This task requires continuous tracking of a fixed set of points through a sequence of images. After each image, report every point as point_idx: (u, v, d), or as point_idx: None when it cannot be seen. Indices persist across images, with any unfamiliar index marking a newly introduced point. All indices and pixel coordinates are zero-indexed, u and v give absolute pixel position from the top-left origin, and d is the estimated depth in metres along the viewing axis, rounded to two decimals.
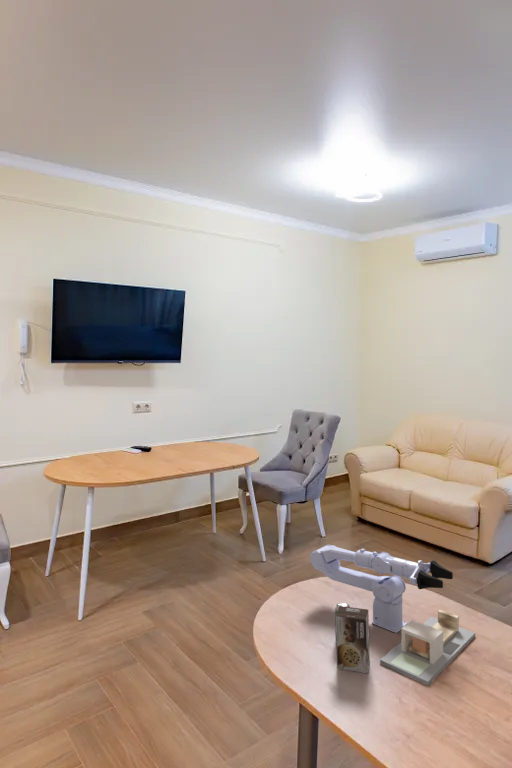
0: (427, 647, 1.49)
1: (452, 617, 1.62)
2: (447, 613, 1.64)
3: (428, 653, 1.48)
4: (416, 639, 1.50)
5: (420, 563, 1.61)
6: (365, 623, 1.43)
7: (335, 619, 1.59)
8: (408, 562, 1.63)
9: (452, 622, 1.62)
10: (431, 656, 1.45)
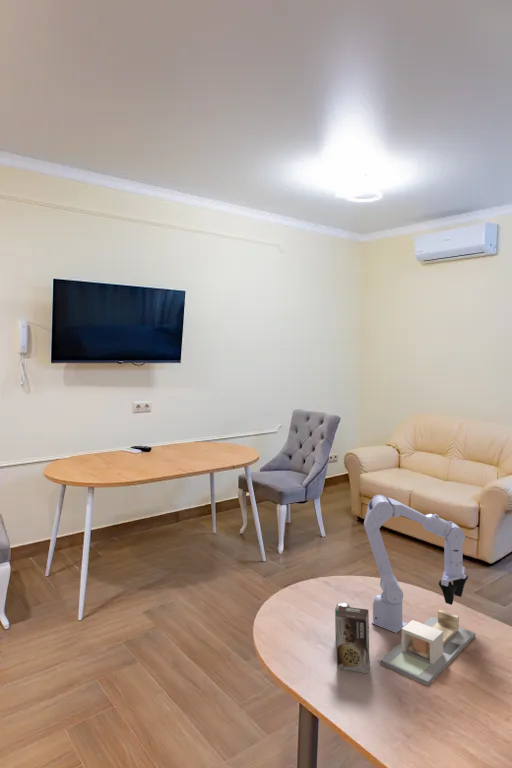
0: (427, 647, 1.49)
1: (452, 617, 1.62)
2: (447, 613, 1.64)
3: (428, 653, 1.48)
4: (416, 639, 1.50)
5: None
6: (365, 623, 1.43)
7: (335, 619, 1.59)
8: (460, 565, 1.64)
9: (452, 622, 1.62)
10: (431, 656, 1.45)
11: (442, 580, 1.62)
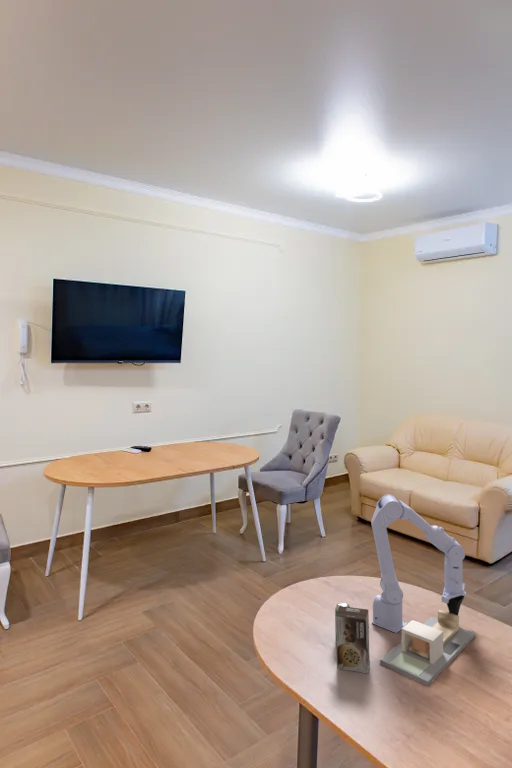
0: (427, 647, 1.49)
1: (452, 617, 1.62)
2: (447, 613, 1.64)
3: (428, 653, 1.48)
4: (416, 639, 1.50)
5: None
6: (365, 623, 1.43)
7: (335, 619, 1.59)
8: (461, 582, 1.64)
9: (452, 622, 1.62)
10: (431, 656, 1.45)
11: (442, 597, 1.62)
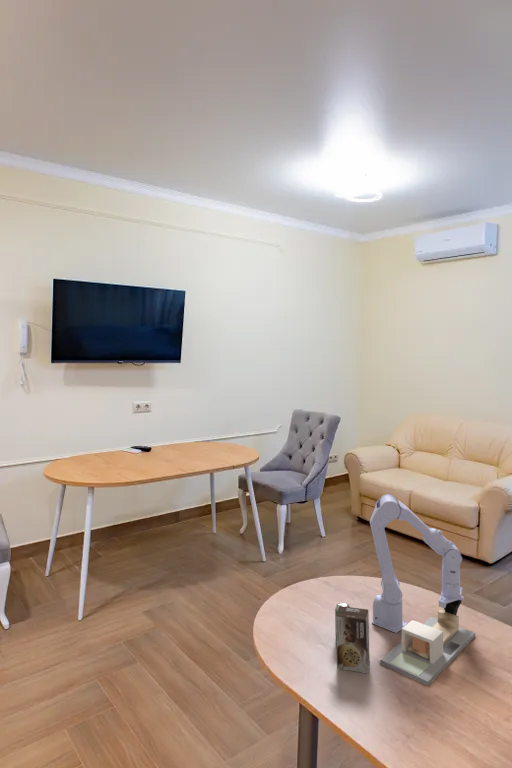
0: (427, 647, 1.49)
1: (452, 617, 1.62)
2: (447, 613, 1.64)
3: (428, 653, 1.48)
4: (416, 639, 1.50)
5: None
6: (365, 623, 1.43)
7: (335, 619, 1.59)
8: (458, 586, 1.63)
9: (452, 622, 1.62)
10: (431, 656, 1.45)
11: (439, 602, 1.61)
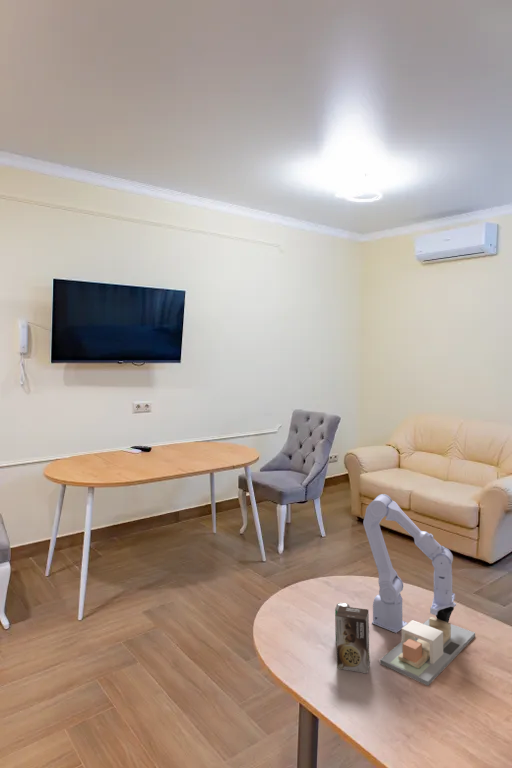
0: (417, 656, 1.44)
1: (444, 625, 1.58)
2: (439, 620, 1.60)
3: (418, 662, 1.43)
4: (406, 648, 1.45)
5: None
6: (365, 623, 1.43)
7: (335, 619, 1.59)
8: (450, 593, 1.59)
9: (444, 630, 1.58)
10: (431, 656, 1.45)
11: (431, 609, 1.56)
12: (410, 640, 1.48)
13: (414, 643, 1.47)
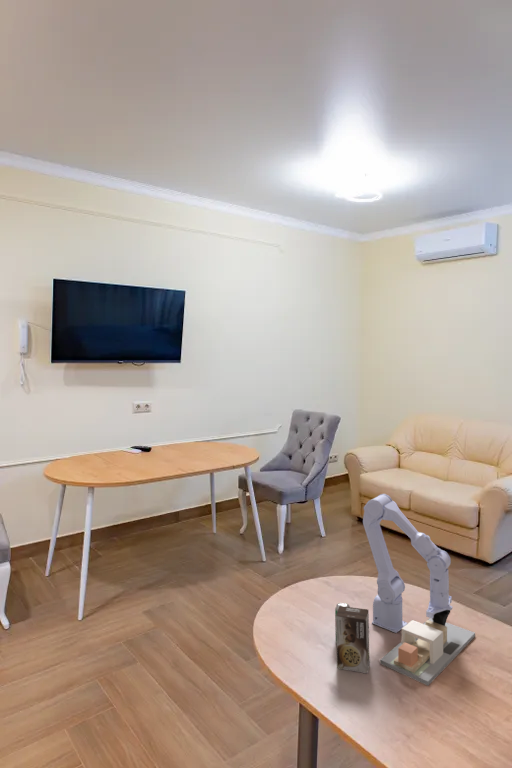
0: (413, 660, 1.42)
1: (440, 628, 1.56)
2: (435, 624, 1.58)
3: (414, 667, 1.42)
4: (401, 652, 1.44)
5: None
6: (365, 623, 1.43)
7: (335, 619, 1.59)
8: (447, 596, 1.57)
9: None
10: (431, 656, 1.45)
11: (427, 612, 1.54)
12: (406, 644, 1.46)
13: (410, 646, 1.45)
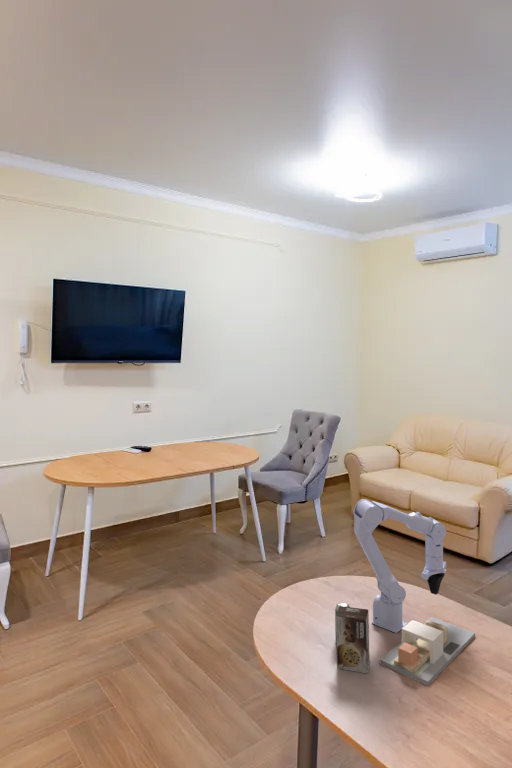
0: (413, 660, 1.42)
1: (440, 628, 1.56)
2: (435, 624, 1.58)
3: (414, 667, 1.42)
4: (401, 652, 1.43)
5: None
6: (365, 623, 1.43)
7: (335, 619, 1.59)
8: (441, 560, 1.69)
9: None
10: (431, 656, 1.45)
11: (422, 574, 1.67)
12: (406, 644, 1.46)
13: (410, 647, 1.45)
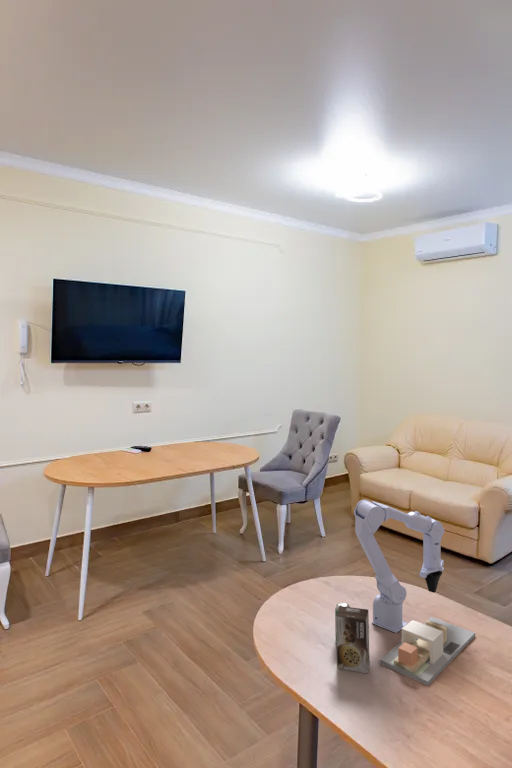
0: (413, 660, 1.42)
1: (440, 628, 1.56)
2: (435, 624, 1.58)
3: (414, 667, 1.42)
4: (401, 652, 1.43)
5: None
6: (365, 623, 1.43)
7: (335, 619, 1.59)
8: (438, 558, 1.71)
9: None
10: (431, 656, 1.45)
11: (420, 572, 1.68)
12: (406, 644, 1.46)
13: (410, 647, 1.45)
